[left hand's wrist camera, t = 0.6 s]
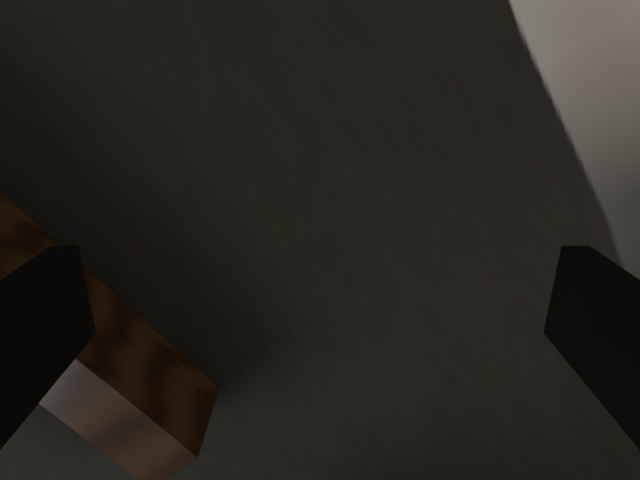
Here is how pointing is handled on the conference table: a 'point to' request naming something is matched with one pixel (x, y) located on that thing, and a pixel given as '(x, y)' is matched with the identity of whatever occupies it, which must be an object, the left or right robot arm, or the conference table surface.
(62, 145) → the conference table surface
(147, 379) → the beam
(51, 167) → the conference table surface
